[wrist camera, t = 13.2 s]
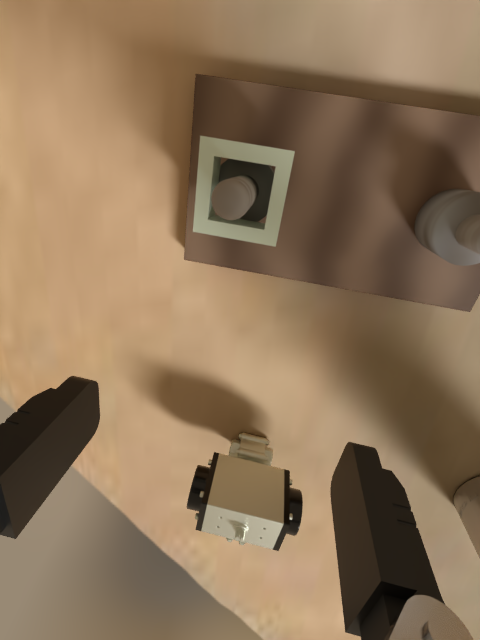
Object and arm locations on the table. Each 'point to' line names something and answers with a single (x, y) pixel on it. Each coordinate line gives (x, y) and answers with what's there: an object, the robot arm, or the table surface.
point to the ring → (209, 179)
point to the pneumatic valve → (246, 496)
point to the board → (346, 191)
